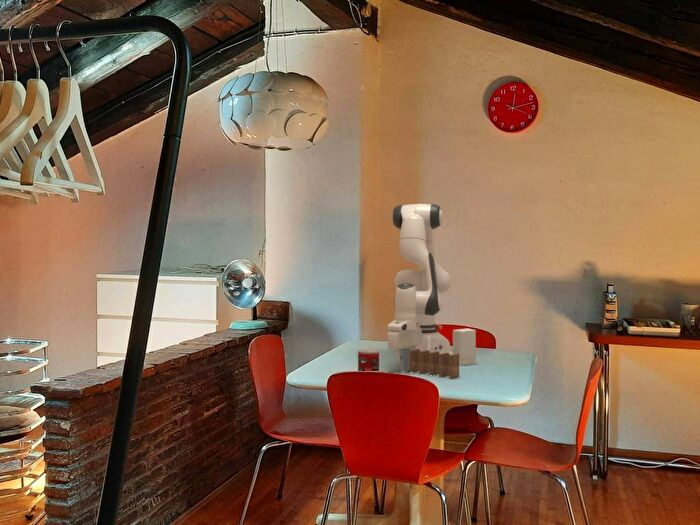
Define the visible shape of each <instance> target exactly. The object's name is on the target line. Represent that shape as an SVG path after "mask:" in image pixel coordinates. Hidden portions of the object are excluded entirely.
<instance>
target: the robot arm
mask: <svg viewBox="0 0 700 525" xmlns="http://www.w3.org/2000/svg"><path fill="white" fill-rule="evenodd" d="M443 219H444V213H443V210H442V208H441V207H440V205H438V204H433V203H431V204H429V203H414V204H413V203H411V204H399V205H396V206H395V207H394V208H393V210H392V213H391V220H392V224H393V227H395V228H397V229H399V230H400V232H399V246H398V247H399V254H400V255H401V256H402V257H403V259H405V260H406V261H408V262H410V263H413V264H415V265H417V266H419V267H421V268H422V269H413V268H412V269H411V268H410V269H404V270H399V271H398V272H396V275H395V278H394V285H395V294H394V300H393V302H394V303H393V305H394V306H393V307H394V309H395V314H394V319H393V320H392V321H391V322H389V323H388V324H387V329H386V330H388V332H387V348H388V349H389V350H392V351H393V352H394V354H395V359H396V361H400V360H401V359H402V355H400V351H401V349H404V348H410V350H414V349H420V351H424V350H430V353H431V352H435V351H438V352H439V354H441V353H445V352H447V353H449V355H452V354H453V349H452V350H451V343H450V341H449V339H447V338H446V337H445V336H444V335H442V334H441V333H440V332H439V330H440V331H441V330H442V329H443V326H442V324H441V325H440V324H436V321H435V320H436V317H435V316H436V314H438V313H439V312H440V311H441V308H442V299H441V296H440V294H444V293H447V292H448V291H449V289H451V286H452V278H451V276H450V274H449V273H448V272H447V271H446V270H445V269H444V268H442V266H440V265H441V264H439V262H438V260H437V258H436V252H435V237H434V230H435V229H438V228H439V227H440V226H441V225H442V222H443Z"/></svg>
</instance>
